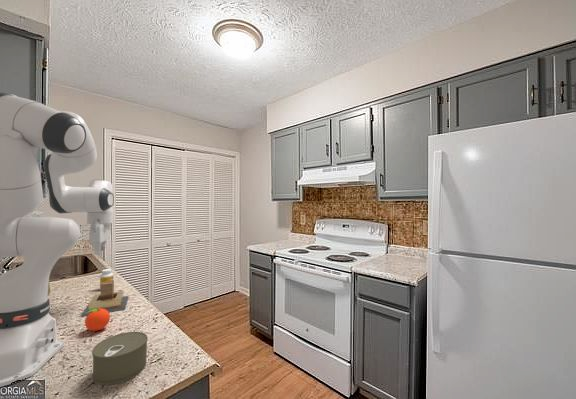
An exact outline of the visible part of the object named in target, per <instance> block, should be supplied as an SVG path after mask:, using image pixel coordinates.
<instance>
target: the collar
mask: <svg viewBox="0 0 576 399" xmlns="http://www.w3.org/2000/svg"><path fill="white" fill-rule="evenodd" d="M124 294H125V291H124V290H121V291H120V290H119V291H114V298H112V299H105V300H100V293H98V294H94V295H93V296H92V298H90V299H91V300H90V301H89V302H88V304H87V306H86V307H85V309H84V310H83V312H82V313H81V317H87V316H88V314H89V313H90V312H89V311H91V310H94V309H105V310H107V311H108V312H109V313H113V312H117V311H123V310H124V311H125V310H126V308H127V305H128V301H129V298H130V295H124ZM87 312H88V313H87ZM91 312H92V311H91Z"/></svg>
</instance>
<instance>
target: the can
mask: <svg viewBox="0 0 576 399" xmlns="http://www.w3.org/2000/svg"><path fill="white" fill-rule="evenodd" d="M148 339H149V338H148V335H147V334H146V333H144V332H141V331H131V332H130V331H128V332H121V333H119V334H116V335H112V336H110V337H108V338H105V339H103V340H101V341H99V342H98V343H97V344H96V345H95V346H94V347H93V348H92V351H91V353H92V365H93V366H92V380H93V382H94V383H95V384H96V385H98V384H99V386H112V385H117V384H121V383H124V382H127V381H129V380H130V379H133V378H135V377H136V376H138V375H139V374H141V373H142V372H143V370H144V369H145V368H146V366H147V352H148V351H147V348H148V347H147V346H148Z"/></svg>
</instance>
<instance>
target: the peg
mask: <svg viewBox="0 0 576 399" xmlns="http://www.w3.org/2000/svg"><path fill="white" fill-rule="evenodd" d="M114 287H115V280H114V279H113V281H105V282H102V283H101V290H100V292H99V294H100V300H105V299H112V298H114V292H115V288H114Z"/></svg>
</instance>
